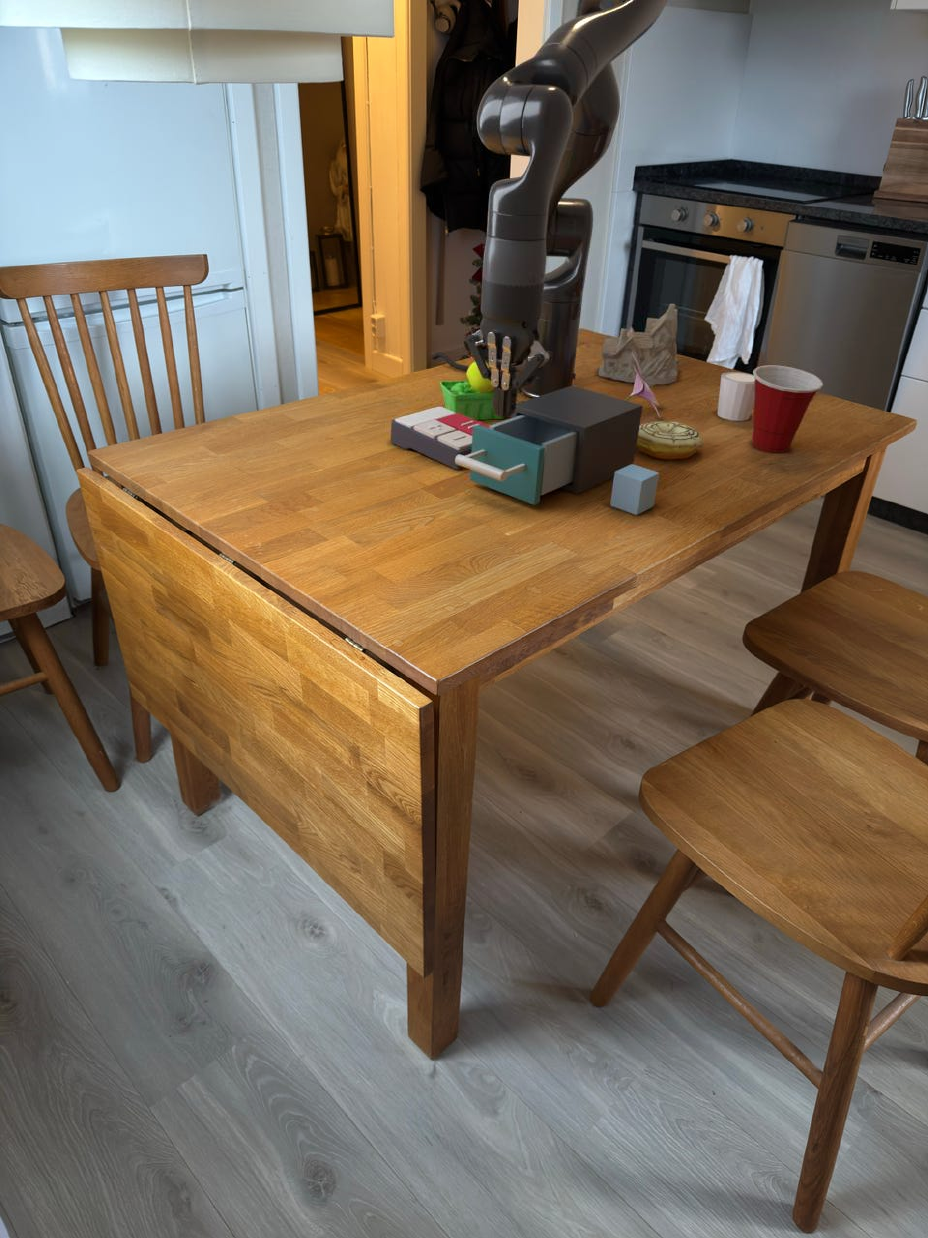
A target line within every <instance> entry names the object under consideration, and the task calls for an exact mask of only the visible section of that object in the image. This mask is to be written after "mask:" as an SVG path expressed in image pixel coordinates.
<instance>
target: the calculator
mask: <svg viewBox="0 0 928 1238" xmlns="http://www.w3.org/2000/svg"><path fill="white" fill-rule="evenodd" d="M477 425H480V426H483V427H486V428H489V426H490V425H487V424H486V423H483V422H481V421H480V420H474V419H472V418H469V417H467V416H465V415H462V414H460V413H455V412H453V411H450V410H448V409H446V407H443V406H436V407H431V408H429V409H425V410H422V411H418V412H414V413H410V414H408V415H403V416H399V417H397V418H395V419H393V420H391V422H390V443H391V444H394V445H396V446H398V447H400V448H402V449H404V450H409V449H412V450H413V451H415V452H418V453H420V454H422V455H424V456H426V457H428V458H430V459H432V460H435V461H437V462H438V463H441V464H443V465H445V466H447V467H449V468H452V469H453V470H456V471H460V470H463V469H466V468H465V467H462V466H460V465H457V464H456V463H455V458H456V456H457V455H459V454H460V455H463V456H466V455H468V454H471V453H472V434H473V427H474V426H477Z"/></svg>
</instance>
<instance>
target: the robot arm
mask: <svg viewBox="0 0 928 1238" xmlns="http://www.w3.org/2000/svg"><path fill="white" fill-rule="evenodd" d="M668 1H669V0H577V1H576V7H575V15H574V18H572V19H570V20H568V21H566V22H564V23H563V24H561V25H560V26H559V27H558V28H556V29H555V30H554V31H553V33H551V34H550V35H549V37H547V39H546V40H545V42H544V43H543V44H542V45H541V47H540V48H539V49H538V50H537V52H536V53H535V54H534V56H533V57H531V58H529V59H527V60H525V61H523V62H521V63H519V64H518V65H517V66H515V67H513V68H511V69H510V70H509V71H507V72H505V73H504V74H502V75H501V76H500V77H498V78H497V79H496V80H495V81H494V82H492V83H491V85H490V86H489V87H488V88H487V90H486V91H485V93H484V94H483V96H482V99H481V100H480V103H479V106H478V108H477V109H478V110H477V114H476V128H477V129H476V130H477V133H478V136H479V138H480V141H481V142H482V144H483V145H484V146H485V147H486V148H487V149H488V150H489V151H491V152H493V153H496V154H499V155H509V156H518V157H529V161H528V164H527V166H526V168H525V170H524V172H523V173H522V174H521V176H517V177H507V178H503V179H500V180H496V181H495V182H494V183H493V184H492V185H491V187H490V190H489V198H488V211H487V227H486V241H485V246H484V251H483V262H482V263H483V264H482V279H481V280H482V281H481V295H480V296H481V297H480V298H481V299H480V313H481V315H482V317H483V318H482V320H481V321H480V325H479V328H480V329H478V330H477V331H476V332H474V333H470V334H468V335H466V337H465V342H466V345H467V347H468V349H469V351H470V353H471V356H472V359H473V360H474V362H476V365H477V367H478V369H479V371H480V373H481V376H482V377H483V378H484V379H489V380H490V381H491V383H492V385H493V386H494V390H493V405H492V406H493V410H494V414H495V415H497V416H500V417H503V418H504V419H505V418H508V417H512V414H513V412H515V410H516V404H517V400H518V392H521V393H522V394H523V395H524V396H526V397H529V398H530V399H533V398H536V397H539V396H542V395H545V394H548V393H551V392H554V391H557V390H560V389H563V388H566V387H569V386H572V385H573V386H574V381H576V377H577V374H576V373H575V367H576V358H577V350H578V349H577V348H578V342H579V341H578V340H579V333H580V332H579V331H580V322H581V311H582V303H583V296H584V295H583V293H584V287H585V281H586V274H587V266H588V260H589V254H590V248H591V243H592V235H593V228H594V210H593V206H592V204H591V202H590V201H589V200H588V199H585V198H576V197H563V196H564V195H565V194H566V192H567V191H568V190H569V189H570V188H572V187H573V185H575V184H576V183H577V182H578V181H579V180H580V179H582V178H583V177H584V176H585V175H586V174H587V173H589V172H590V171H591V170H592V169H593V168H594V167H595V166H597V164H598V163H599V162H600V161H601V160H602V158H604V156H605V154H606V153H607V151H608V149H609V147H610V144H611V141H612V138H613V135H614V132H615V128H616V124H617V122H618V118H619V115H620V110H621V101H620V100H621V98H620V90H619V86H618V82H617V78H616V74H615V71H614V67H613V64H612V62H613V61H614V60H615V59H617V58H618V57H619V56H620V55H622V54H623V53H624V52H625V51H627V50H628V49H629V48H630V47H631V46H633V45H634V44H635V43H636V42H637V41H638V40H639V39H640V38H642V37H643V36H644V35H645V34H646V33H647V32H648V31H650V29H651V28H652V27H653V26H654V25H655V24H656V22H657V21H658V19H659V18H660V16H661V15H662V13H663V11H664V10H665V8H666V5H667V4H668ZM547 257H549V258H550V257H551V258H552V257H553V258H555V257H556V258H565V260H564V261H563V263H562V264H561V265H560V266H558V267H557V268H555V269H553V270H552V271H549V272H547V273H546V268H547ZM438 358H442V359H443V360H444V361H445V362H446V363H447V364H448V365H449V366H451V367H452V368H454V369H456V370H460V371H465V372H467V370H468V368H469V366H470V365H465V364H461V363H458V362H455V361H454V360H452V359H451V358H450V357H449V356H448V355H447V354H445V353H444V352H442V351H437V352H435V353H434V354H433V355H432V356H431V357H430V360H437V359H438ZM485 361H486V362H487V364H488V366H487V364H486V362H485ZM488 367H489V368H488Z"/></svg>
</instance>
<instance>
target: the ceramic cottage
mask: <svg viewBox="0 0 928 1238" xmlns="http://www.w3.org/2000/svg"><path fill="white" fill-rule="evenodd" d="M678 323H679V322H678V309H677V308H676V304H675V303H669V305H668V308H667V310H666V312H665V313H664V314H663V315H662V316H661V317H659V318H653V317H647V318H646V324H645V329H644V331H641V332H640V331H635V329H634V328H633V327H632V326H631V327H629V329H628V328H623V327H622V328H620V333H619V336H615V335H614V336H613V335H610V334H607V335H606V336H605V337H604V343H603V347H602V348H601V351H600V352H601V354H600V355H601V360H602V361H603V363H602V364H601V365H600V367H599V370H598V376H599V377H601V378H607V379H609V378H610V379H612V380H613V381H621V382H625V383H634V384H635V381H636V376H637V373H638V375H639V371H638V366H637V363H636V361H635V358H636V360H637V362H638V364H639V367H640V370H641V378H642V380H643V381H644V382H645V383H646V384H647V385H648V384H650V385H651V384H653V385H654V383H655V385H662V386H663V385H668V384H672V383H675V382H677V380H678V374H679V370H680V369H679V364H680V359H678V358H677V351H678V350H677V349H678V347H677V343H676V341H677V340H676V339H677V334H678V327H679V324H678ZM632 353H633V354H632ZM633 355H634V356H633ZM634 357H635V358H634ZM633 366H634V367H635V368H636V370H637V373H636V371H635V369H634V367H633ZM651 381H652V382H651Z"/></svg>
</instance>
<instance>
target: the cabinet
mask: <svg viewBox="0 0 928 1238" xmlns="http://www.w3.org/2000/svg"><path fill="white" fill-rule="evenodd" d="M625 400H626V399H622V398H618V397H615V396H611V395H607V394H604V393H600V392H596V391H594V390H591V389H590V390H589V389H586V388H583V387H579V386H576V385H574V384H573V385H572V386H569V387H566V388H563V389H560V390H557V391H554V392H551V393H548V394H545V395H542V396H539V397H536V398H529V399H526V400H524V401H520V402H518V403H517V402H516V410H515V412H513V414H512V415H511V418H514V417H517V416H520V415H523V414H524V415H527V416H530V417H533V418H536V419H539V420H543V421H546V422H549V423H552V424H555V425H558V426H561V427H564V428H568V429H571V430H574V431H577V432H580V433H579V439H578V448H577V456H576V464H575V473H574V481H573V482H570V483H568V484H566V485H564V486H561V487H559V488H558V489H563V490H564V491H567V492H570V493H573V494H576V495H579V494H581V493H582V492H585V491H587V490H589V489H591V488H593V487H595V486H597V485H598V486H599V485H600V484H602V483H603V482H606V481H608V480H610V479H612V478H613V479H614V474H615V472H616V471H618V470H620V469H622V468H624V467H627V466H629V465H631V464H634V465H635V458H636V453H637V452H636V450H637V447H638V446H637V439H638V433H639V426H641V419H642V413H643V405H642V404H640V403H639V404H638V403H635V402H631V401H628V400H627V401H625Z"/></svg>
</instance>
